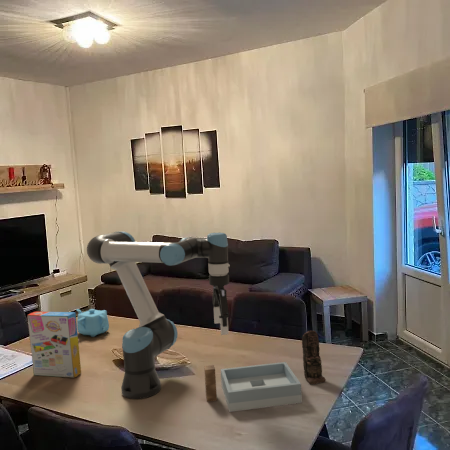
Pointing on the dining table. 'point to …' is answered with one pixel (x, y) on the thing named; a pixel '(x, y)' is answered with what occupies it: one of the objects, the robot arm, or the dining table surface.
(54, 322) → the game box
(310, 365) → the statue
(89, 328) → the teapot
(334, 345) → the dining table surface
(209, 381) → the peg
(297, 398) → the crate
